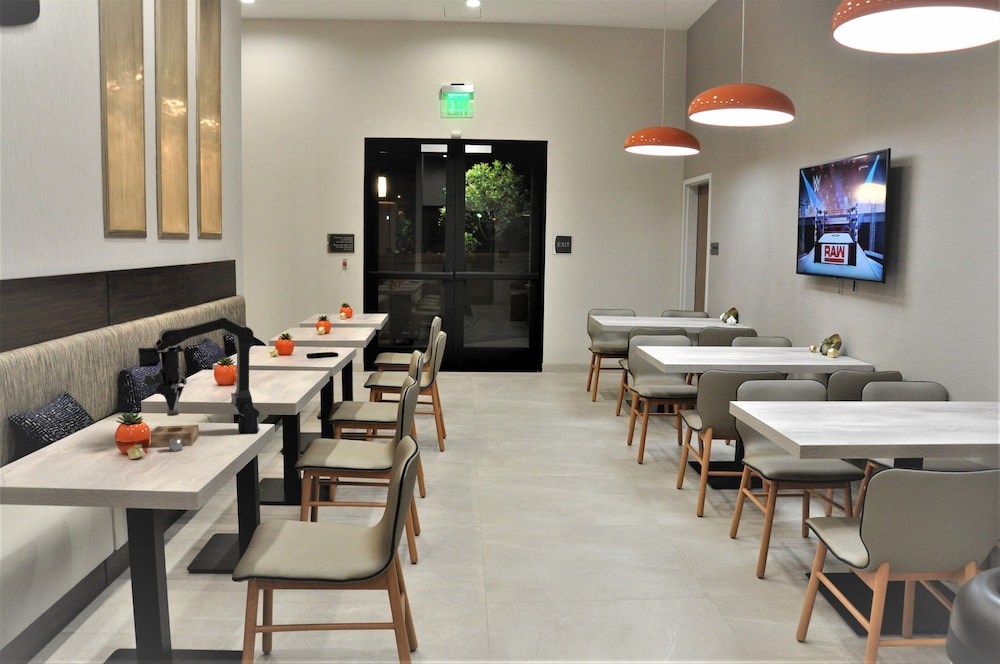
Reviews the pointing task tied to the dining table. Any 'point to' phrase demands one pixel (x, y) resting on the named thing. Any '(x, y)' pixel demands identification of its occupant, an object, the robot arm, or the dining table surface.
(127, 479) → the dining table surface
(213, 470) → the dining table surface
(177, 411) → the tall pin
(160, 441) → the hole block
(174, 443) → the short pin
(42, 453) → the dining table surface
